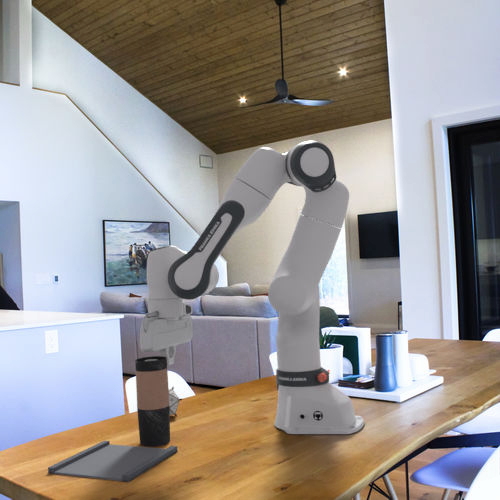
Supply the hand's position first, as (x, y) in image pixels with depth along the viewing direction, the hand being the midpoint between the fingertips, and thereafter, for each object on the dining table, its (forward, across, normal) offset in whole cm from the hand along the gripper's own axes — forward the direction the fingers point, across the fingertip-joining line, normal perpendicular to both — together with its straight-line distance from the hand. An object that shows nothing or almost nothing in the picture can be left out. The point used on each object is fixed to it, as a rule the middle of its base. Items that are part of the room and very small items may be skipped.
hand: (168, 364), depth 147 cm
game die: (+17, +14, +10) cm, 24 cm away
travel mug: (+17, -8, 0) cm, 19 cm away
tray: (+17, -22, +1) cm, 28 cm away
